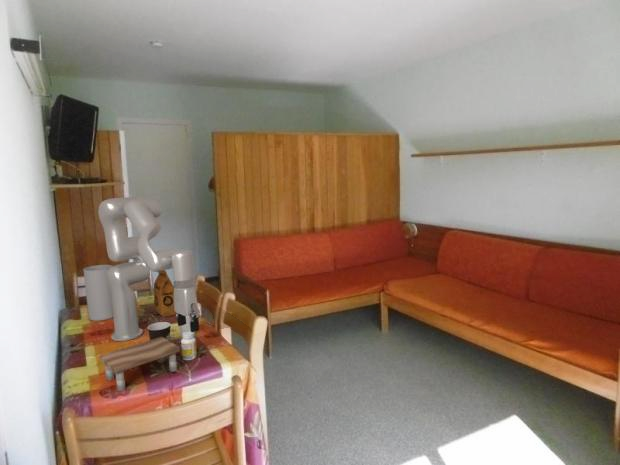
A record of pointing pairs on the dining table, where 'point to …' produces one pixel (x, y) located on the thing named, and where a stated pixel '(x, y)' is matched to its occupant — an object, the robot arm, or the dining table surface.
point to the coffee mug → (159, 330)
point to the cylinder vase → (98, 293)
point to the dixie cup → (185, 326)
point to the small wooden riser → (138, 358)
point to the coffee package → (164, 295)
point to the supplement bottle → (188, 346)
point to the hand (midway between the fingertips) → (188, 328)
